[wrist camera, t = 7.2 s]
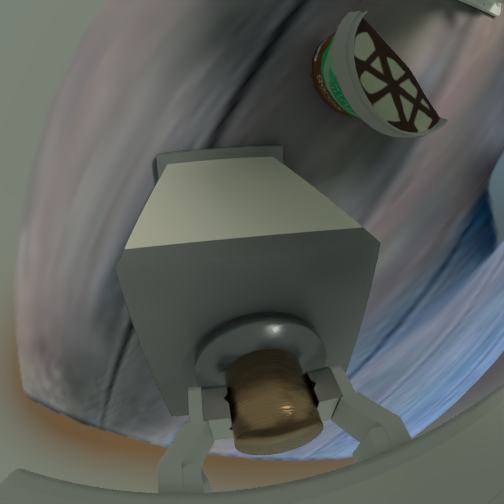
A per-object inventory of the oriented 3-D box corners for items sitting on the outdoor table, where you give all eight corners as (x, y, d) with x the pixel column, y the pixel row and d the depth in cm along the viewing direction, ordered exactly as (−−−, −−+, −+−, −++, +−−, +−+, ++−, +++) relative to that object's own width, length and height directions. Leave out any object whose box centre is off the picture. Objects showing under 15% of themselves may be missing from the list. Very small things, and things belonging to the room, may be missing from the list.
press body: (280, 144, 27) (403, 218, 10) (278, 251, 33) (350, 395, 16) (157, 153, 26) (83, 247, 9) (172, 262, 31) (159, 423, 15)
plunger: (266, 182, 24) (398, 358, 7) (266, 256, 27) (347, 448, 11) (182, 189, 23) (153, 401, 6) (191, 263, 26) (198, 475, 10)
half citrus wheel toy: (273, 69, 23) (310, 52, 15) (312, 31, 22) (361, 5, 13) (356, 149, 29) (413, 173, 20) (388, 113, 27) (450, 125, 18)
